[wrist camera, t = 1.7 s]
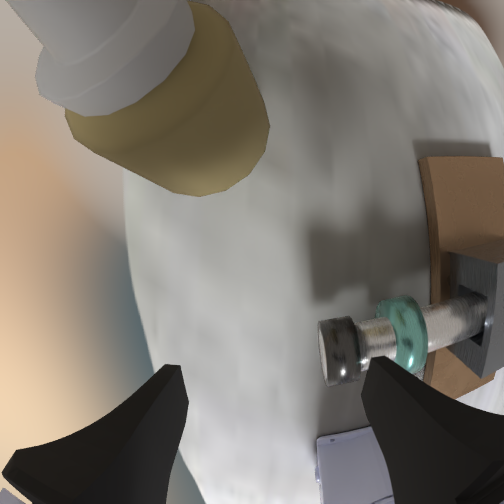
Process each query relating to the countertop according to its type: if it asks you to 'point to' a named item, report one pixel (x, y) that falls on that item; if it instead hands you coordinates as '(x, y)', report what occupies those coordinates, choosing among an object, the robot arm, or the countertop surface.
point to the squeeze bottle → (152, 88)
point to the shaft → (397, 334)
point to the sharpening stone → (466, 263)
